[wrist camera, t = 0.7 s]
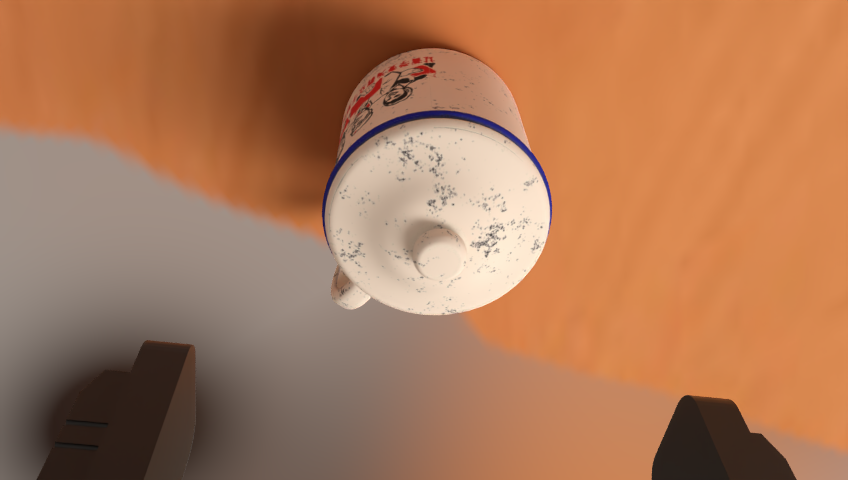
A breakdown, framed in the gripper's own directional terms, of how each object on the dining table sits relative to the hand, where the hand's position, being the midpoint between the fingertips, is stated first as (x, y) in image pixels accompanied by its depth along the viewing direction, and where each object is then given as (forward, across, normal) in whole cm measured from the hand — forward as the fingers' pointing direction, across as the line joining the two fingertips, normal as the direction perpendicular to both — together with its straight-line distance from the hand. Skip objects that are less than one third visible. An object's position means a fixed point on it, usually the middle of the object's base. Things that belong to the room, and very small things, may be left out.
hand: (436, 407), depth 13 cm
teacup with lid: (+26, -1, +8) cm, 27 cm away
